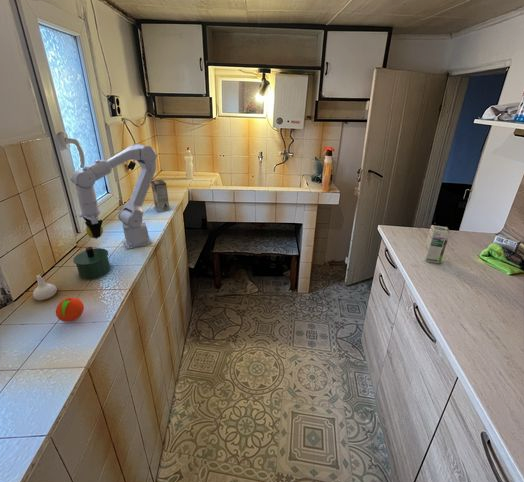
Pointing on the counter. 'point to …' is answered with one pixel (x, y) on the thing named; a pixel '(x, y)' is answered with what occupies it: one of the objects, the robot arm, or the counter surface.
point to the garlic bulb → (44, 289)
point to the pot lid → (90, 256)
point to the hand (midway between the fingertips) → (95, 234)
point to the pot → (94, 270)
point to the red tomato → (69, 309)
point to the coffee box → (160, 195)
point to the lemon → (91, 232)
